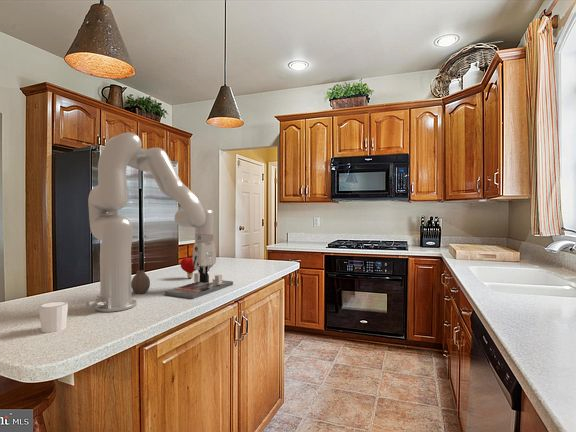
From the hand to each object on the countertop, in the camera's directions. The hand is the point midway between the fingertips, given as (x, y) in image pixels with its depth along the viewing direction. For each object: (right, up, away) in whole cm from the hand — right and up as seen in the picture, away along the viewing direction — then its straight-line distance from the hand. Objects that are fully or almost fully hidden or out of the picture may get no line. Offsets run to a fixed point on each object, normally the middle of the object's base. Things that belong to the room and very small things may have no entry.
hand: (203, 282), depth 141 cm
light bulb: (-12, -3, +22) cm, 25 cm away
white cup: (-30, -4, -47) cm, 56 cm away
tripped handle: (+1, -1, +3) cm, 4 cm away
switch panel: (-1, -3, -1) cm, 3 cm away
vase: (-24, -3, -6) cm, 25 cm away
